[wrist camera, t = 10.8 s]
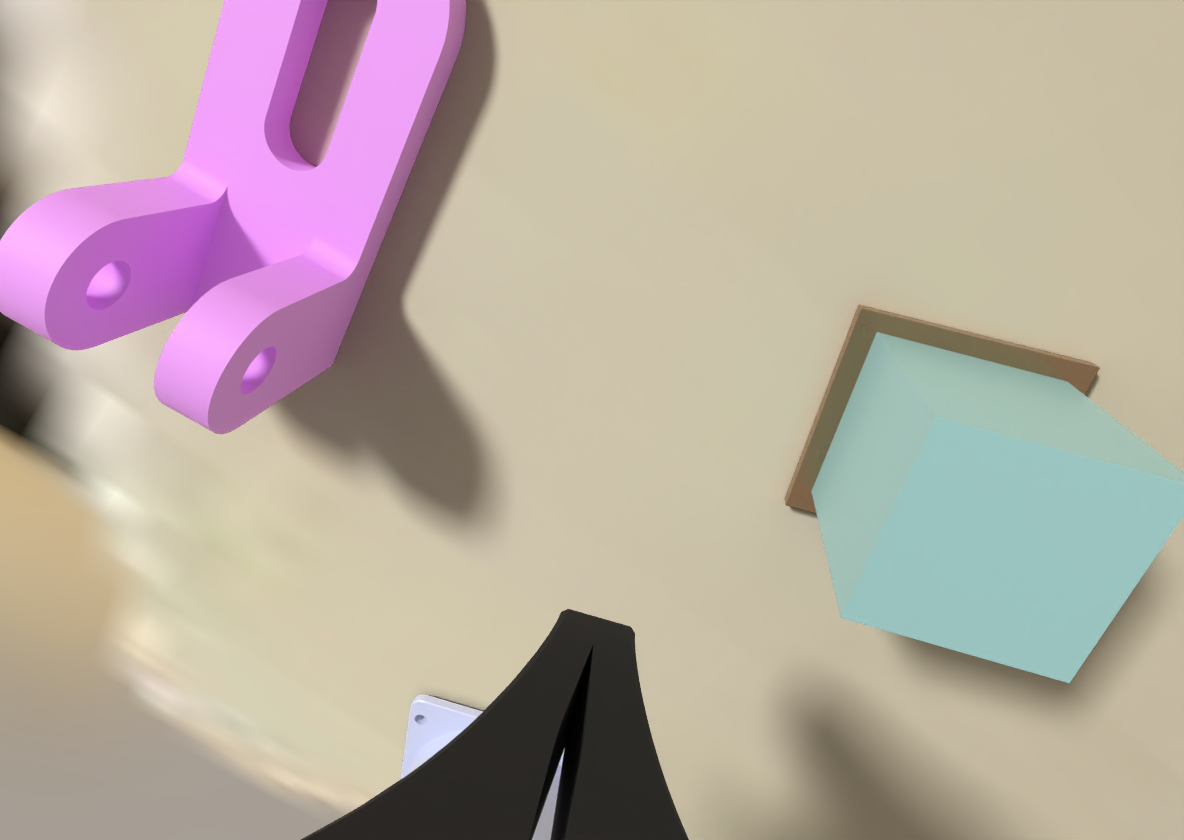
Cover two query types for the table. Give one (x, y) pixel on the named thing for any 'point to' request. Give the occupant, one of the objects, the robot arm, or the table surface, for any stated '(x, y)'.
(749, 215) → the table surface
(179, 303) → the bracket
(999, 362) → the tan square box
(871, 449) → the teal cube
